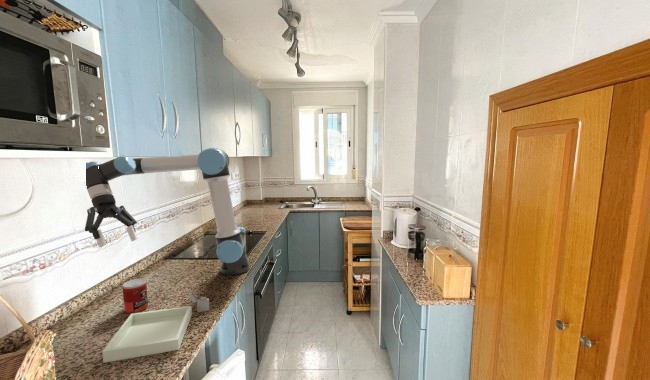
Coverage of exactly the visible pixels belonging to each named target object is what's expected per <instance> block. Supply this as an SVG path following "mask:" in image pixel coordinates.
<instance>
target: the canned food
mask: <svg viewBox="0 0 650 380" xmlns="http://www.w3.org/2000/svg"><path fill="white" fill-rule="evenodd" d="M121 289H122V298H123V306H124V308H123V309H124V312H125V313H126V314H128V315H131V314H133V313H141V312H144V311H145V310H146V309H148V306H149V301H148V299H149V298H148V287H147V280H146V278H134V279H130V280H127V281H126V282H124V283H122V287H121Z"/></svg>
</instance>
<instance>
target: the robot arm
mask: <svg viewBox="0 0 650 380" xmlns="http://www.w3.org/2000/svg"><path fill="white" fill-rule="evenodd" d="M180 156H181V157H166V156H155V157H154V156H153V157H137V158H136V157H135V158H134V157H133V158H132V157H130V156H129V157H121V156H118V157H116V158H115V157H114V158H113V159H111V160H109V161H108V160H107V161H105V162H103V163H101V162H98V161H89V162H85V163H86V185H85V187H86V186H87V187H86V190H87V192H88V193H87V194H88V195H89V198H90V199H91V204H92V206H91V207H89V208H88V209H86V212H87V217H86V222H85V226H84V231H85V232H88V233H90V234H92V236H93V239H94V240H96V241H97V244H98V248H103V247H105V246H106V245H107V243H106V240H105V238H104V235H103V231H102V230H101V228H100V226H101V224H102V222H103V220H104V219H108V218H110V219H111V218H113V219H116V220H117V221H119V222H120V223H121V224H123V225H124V226H126V230H127V233H128V236H129V238H130V240H131V241H130V242H134V241H137V239H138V236H137V234H136V232H137V231H136V228H135V225H136V224H138V221H137V220H136V219H135V218H134V217H133V216H132V215H131V213H129V212H128V211H127V209H126V208H125V206H124V205H120V206H117V205H116V204H117V203H116V198H115V196H114V195H113V192H112V191H113V190H112V189H111V186H110V183H109V181H112V180H114V179H117V178H120V177H123V176H129V175H130V176H131V175H140V174H141V175H143V174H153V173H154V174H155V173H156V174H157V173H167V172H168V173H169V172H170V173H171V172H184V171H197V170H198V171H200V172H201V174H202V178H203V180H204V181H205V182H206V183H207V185H208V191H209V194H210V195H209V196H210V199H211V205H212V209H213V214H214V219H215V224H216V229H217V233H216V234H215V242H216V246H217V247H216V256H217V258H218V260H220V261H221V264H220V267H219V269H220V273H221V274H223V275H227V276H235V275H241V274H244V273H246V272H248V271H249V270H250V268H251V266H250V261H249V258H248V255H247V244H246V243H247V242H246V238H247V237H246V228H245V227H243V226H237V224H236V219H235V218H236V217H235V213H234V212H235V211H234V207H233V203H232V198H231V197H232V196H231V192H230V186H229V182H228V179H229V177H230V169H229V165H230V158H229V155H228V153H227V152H226V151H224V150H223V149H219V148H215V147H209V148H205V149H203V150H202V151H200V152H199V153H197V154H187V155H184V154H183V155H180ZM98 166H99V169H98ZM96 213H97V214H98V215H97V216H96ZM95 217H96V219H95ZM99 228H100V229H99Z"/></svg>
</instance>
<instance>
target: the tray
mask: <svg viewBox="0 0 650 380" xmlns="http://www.w3.org/2000/svg"><path fill="white" fill-rule="evenodd" d="M192 307H193V306H192V305H187V306H179V307H173V308H165V309H157V310H150V311H142V312H139V313H133V314H129V316H128V318H127V319H126V320H125V321H124V322H123V324H122V325H121V326H120V328H119V329H118V330H117V332H116V333H115V334H114V336H113V337H112V338H111V340H110V341H109V342H108V344H107V345H106V346H104V347H105V348H104V349H103V350H102V351H101V353H102V355H101V356H102V362H103V363H108V362H110V363H111V362H115V361H121V360H127V359H133V358H139V357H145V356H152V355H157V354H161V353H163V354H164V353H167V352H175V351H180V347H181V345H182V342H183V340H184V337H185V335H186V332H187V328H188V326H189V323H190V321H191V317H192V315H193V310H192Z"/></svg>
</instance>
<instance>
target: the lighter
mask: <svg viewBox="0 0 650 380" xmlns="http://www.w3.org/2000/svg"><path fill="white" fill-rule="evenodd" d="M188 297H189V299H190V301H192V303H193V304H195V303H196V307H197V309H196V310H197V313H201V312H207V311H208V312H209V311H210V298H209V297H208V298H207V297H206V296H201V297H200V298H198V297H197V296H196V294H195V293H194V292H193V291H190V292H189V293H188Z"/></svg>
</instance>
